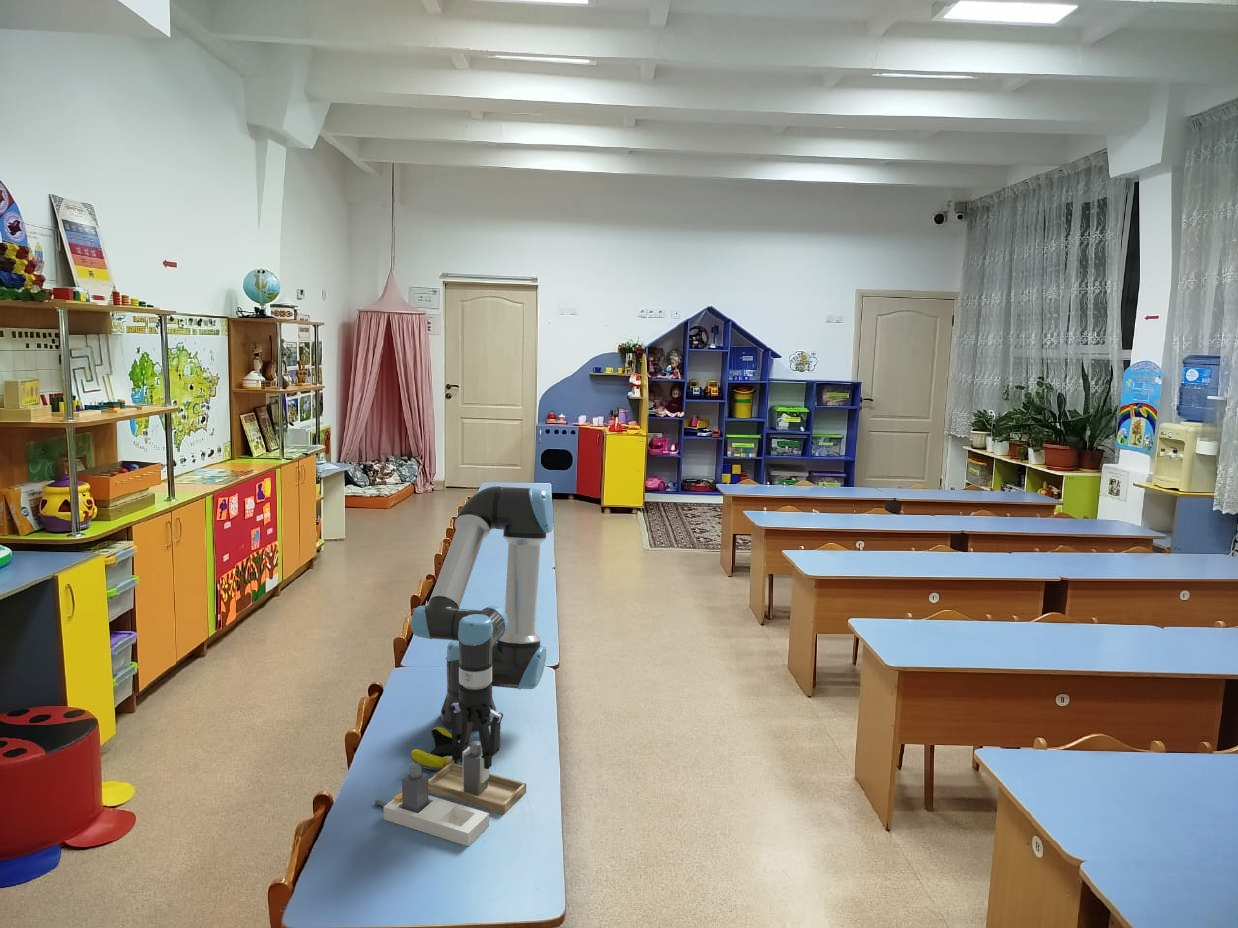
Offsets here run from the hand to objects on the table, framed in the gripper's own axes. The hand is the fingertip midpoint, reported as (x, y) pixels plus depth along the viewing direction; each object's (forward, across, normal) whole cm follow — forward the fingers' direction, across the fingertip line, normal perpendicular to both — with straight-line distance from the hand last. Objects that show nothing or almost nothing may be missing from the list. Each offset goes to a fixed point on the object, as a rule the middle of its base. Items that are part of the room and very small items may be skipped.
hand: (475, 777), depth 193 cm
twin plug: (+3, -6, -14) cm, 16 cm away
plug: (+3, 0, 0) cm, 3 cm away
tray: (+4, 0, 0) cm, 4 cm away
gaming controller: (+4, -16, +8) cm, 18 cm away
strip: (+4, -4, -14) cm, 15 cm away
